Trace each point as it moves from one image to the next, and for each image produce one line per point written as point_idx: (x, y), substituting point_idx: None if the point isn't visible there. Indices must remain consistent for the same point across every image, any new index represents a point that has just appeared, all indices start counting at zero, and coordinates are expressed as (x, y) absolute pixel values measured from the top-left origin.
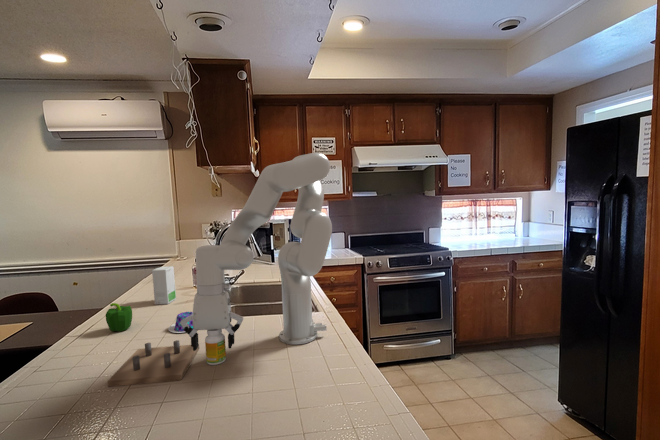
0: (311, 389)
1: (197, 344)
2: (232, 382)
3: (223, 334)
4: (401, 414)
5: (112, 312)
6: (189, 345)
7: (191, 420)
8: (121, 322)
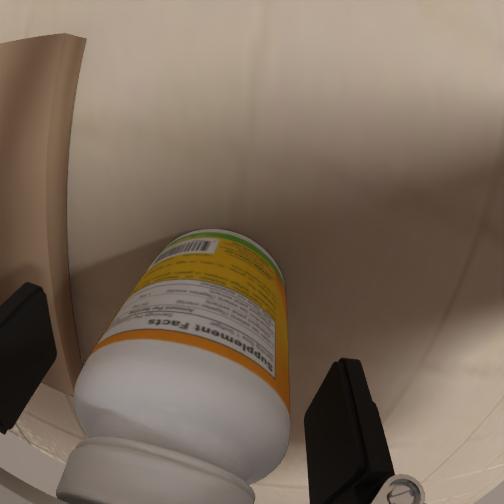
0: (443, 482)
1: (35, 330)
2: (285, 457)
3: (277, 453)
4: (474, 501)
5: None
6: (12, 50)
7: None
8: None
